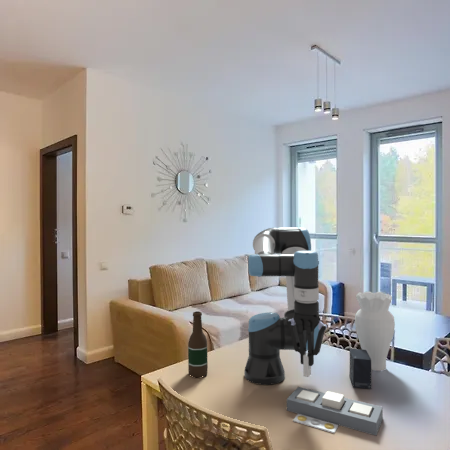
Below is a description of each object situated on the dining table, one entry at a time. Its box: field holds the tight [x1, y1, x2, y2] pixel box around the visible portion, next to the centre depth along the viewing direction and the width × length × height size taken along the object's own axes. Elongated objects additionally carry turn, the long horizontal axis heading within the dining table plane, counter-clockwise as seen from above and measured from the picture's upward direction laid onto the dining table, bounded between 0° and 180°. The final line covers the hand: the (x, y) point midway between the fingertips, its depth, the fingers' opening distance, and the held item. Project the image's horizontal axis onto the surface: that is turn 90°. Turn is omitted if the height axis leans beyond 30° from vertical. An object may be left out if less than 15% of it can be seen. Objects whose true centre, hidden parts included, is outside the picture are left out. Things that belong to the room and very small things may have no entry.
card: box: [292, 413, 339, 434], centre depth 105 cm, size 12×4×1 cm, turn 58°
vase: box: [354, 291, 396, 372], centre depth 145 cm, size 15×15×29 cm
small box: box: [349, 348, 372, 390], centre depth 132 cm, size 11×6×10 cm, turn 168°
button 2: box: [322, 390, 345, 410], centre depth 110 cm, size 5×5×2 cm
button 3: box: [350, 402, 372, 418], centre depth 106 cm, size 5×5×2 cm
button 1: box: [297, 390, 319, 403], centre depth 114 cm, size 5×5×2 cm
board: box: [286, 386, 384, 436], centre depth 110 cm, size 26×10×4 cm, turn 58°
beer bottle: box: [187, 310, 209, 378], centre depth 141 cm, size 8×8×24 cm
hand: (307, 374), depth 115 cm, fingers closed
